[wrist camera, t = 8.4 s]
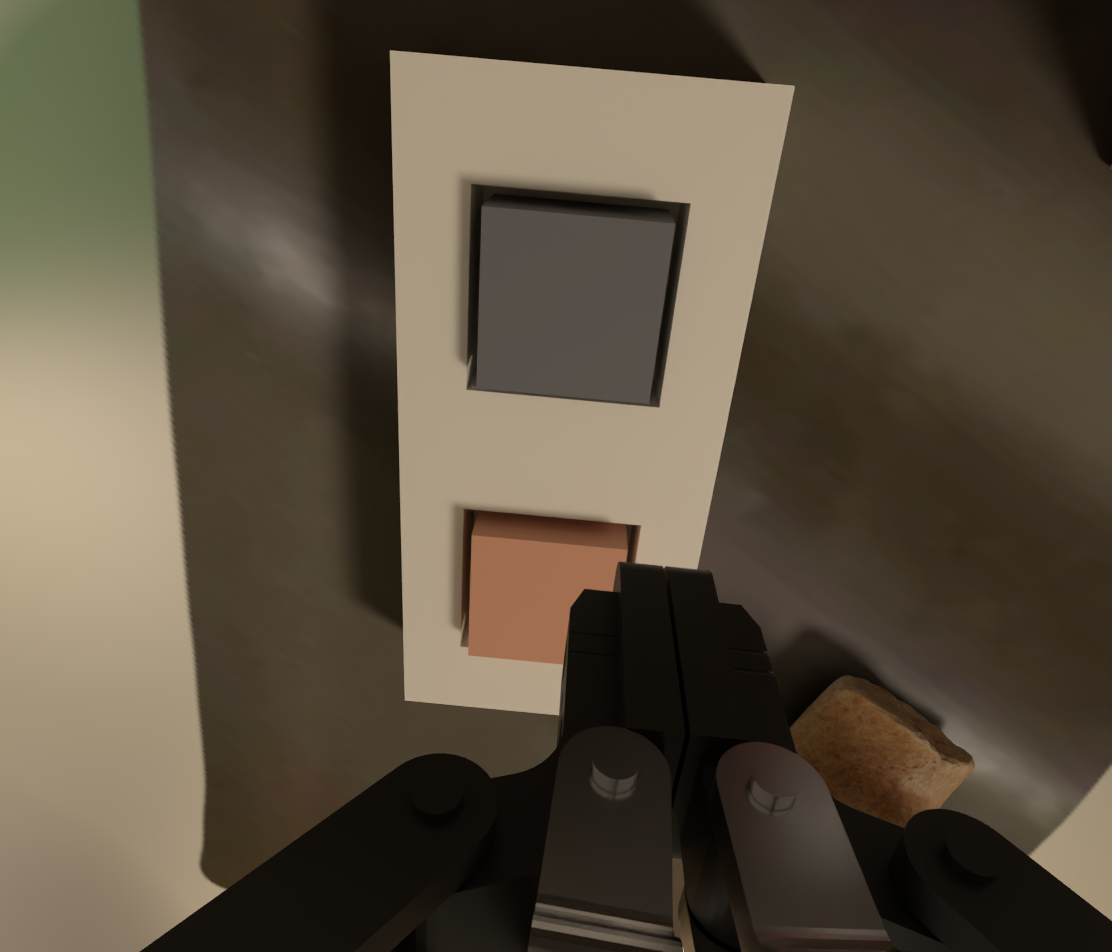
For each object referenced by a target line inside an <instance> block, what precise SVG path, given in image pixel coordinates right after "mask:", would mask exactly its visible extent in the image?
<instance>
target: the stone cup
mask: <svg viewBox="0 0 1112 952" xmlns="http://www.w3.org/2000/svg"><path fill="white" fill-rule="evenodd" d="M790 731H791V735H792V738H793V742H794V745H795V749H796V752H797V755H798V756H800V757H801V758H803V759H804V760H806V761H807V762H808V763H809V764H810V765H811V766H812V767H813V768H814V769H815V770H816V771H817V772H818V773H819V774H820V776H821V777H822V779H823V780H824V782H825V784H826V786H827V788H828V790H829V792H830V795H831V796H832V797H834V798H835V799H837V800H838V801H840V802H842V803H844V804H845V805H847V806H849V807H851V808H854V809H856V810H858V811H861V812H863V813H866V814H869V815H871V816H874V817H876V818H879V819H882V820H884V821H887V822H890V823H892V824H895V825H898V826H900V827H903V828H905V827H906V825H907V823H908V821H909V820H910V819H911V818H912V817H913V816H914V815H915V814H917V813H919V812H921V811H924V810H928V809H939V808H940V807H941V805H942V804H943V803H944V801H945V800H946V799H947V798H948V797H949V796H950V794H951V793H952V792H953V791H954V790H955V789H956V788H957V787H958V786H959V785H960V784H961V783H962V782H963V781H964V780H965V779H966V778H967V777H968V776H969V775H970V774H971V773H972V771H973V770H974V769H975V763H974V760H973V758H972V756H971V755H970V754H968V753H967V752H966V751H965V750H964V749H962V748H960V747H958V746H956V745H955V744H953V743H952V742H951V741H950V740H949V739H948V738H947V737H946V736H945V735H944V733H943V732H942V731H941V730H940V729H939V728H938V726H937V725H933V724H930V723H929V722H928V721H927V720H926V719H925V718H924V717H923V716H922V715H921V714H919V713H917V712H916V711H915V710H914V709H913V708H912V707H911V706H909V705H908V704H906V703H905V702H902V701H900V700H897V699H896V698H895V696H894V695H893V694H891V693H890V692H888V691H887V690H885V689H884V688H882V687H881V686H878V685H875V684H872V683H870V682H869V681H868V680H867V679H862V678H857V677H854V676H850V675H845V676H841V677H840V678H838V679H837V680H835V681H834V682H833V683H832V684H831V685H830V686H829V687H828V688H827V689H826V690H825V691H824V692H823V693H822V694H821V695H820V696H819V697H818V698H817V699H816V700H815V701H814V702H813V703H812V704H811V705H810V706H809V707H808V708H807V709H806V710H805V711H804V712H803V713H802V715H801V716H800V717H799V718H798V719H797V720H796V721H795V722H794V723H793V725H792V726H791V727H790Z"/></svg>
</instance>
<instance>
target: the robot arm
mask: <svg viewBox="0 0 1112 952" xmlns="http://www.w3.org/2000/svg"><path fill="white" fill-rule="evenodd" d="M558 724H559V725H558V738H557V748H556V749H555V751H554V752H553V753H552V754H551V755H550V756H549V757H548V758H547V759H546V760H545V761H543V762H542V763H540V764H539V765H537V766H535V767H534V768H531V769H529V770H526V771H524V772H520V773H516V774H512V775H506V776H501V777H495V778H490V777H489V775H488V774H487V773H486V772H485V771H484V770H483V769H482V768H481V767H480V766H478V765H477V764H476V763H474V762H472V761H470V760H468V759H466V758H464V757H460V756H457V755H452V754H437V753H436V754H428V755H423V756H420V757H416V758H414V759H411V760H409V761H407V762H405V763H403V764H402V765H400V766H399V767H397V768H396V769H394V770H393V771H391V772H390V773H389V774H387V775H386V776H384V777H383V778H382V779H380V780H379V781H378V782H376V783H375V784H373V785H372V786H371V787H369V788H368V789H366V790H365V791H364V792H362V793H361V794H359V795H358V796H357V797H355V798H354V799H352V800H351V801H350V802H348V803H347V804H345V805H344V806H343V807H341V808H340V809H338V810H337V811H336V812H334V813H333V814H331V815H330V816H329V817H327V818H326V819H324V820H323V821H322V822H320V823H319V824H317V825H316V826H315V827H313V828H312V829H310V830H309V831H308V832H306V833H305V834H303V835H302V836H301V837H299V838H298V839H296V840H295V841H294V842H292V843H291V844H290V845H288V846H287V847H285V848H284V849H283V850H281V851H280V852H278V853H277V854H276V855H274V856H273V857H271V858H270V859H269V860H267V861H266V862H264V863H263V864H262V865H260V866H259V867H257V868H256V869H255V870H253V871H252V872H250V873H249V874H248V875H246V876H245V877H243V878H242V879H241V880H239V881H238V882H236V883H235V884H234V885H232V886H231V887H229V888H228V889H227V890H225V891H224V892H222V893H221V894H220V895H218V896H217V897H216V898H214V899H213V900H211V901H210V902H209V903H207V904H206V905H204V906H203V907H201V908H200V909H199V910H197V911H196V912H195V913H193V914H192V915H190V916H189V917H188V918H186V919H185V920H183V921H182V922H181V923H179V924H178V925H176V926H175V927H174V928H172V929H171V930H169V931H168V932H167V933H165V934H164V935H162V936H161V937H160V938H158V939H157V940H155V941H154V942H153V943H151V944H150V945H149V946H147V947H146V948H144V949H143V950H142V951H140V952H683V948H684V952H1112V921H1111V920H1109V919H1108V918H1107V917H1106V916H1104V915H1103V914H1102V913H1100V912H1099V911H1098V910H1097V909H1095V908H1094V907H1093V906H1092V905H1090V904H1089V903H1088V902H1086V901H1085V900H1084V899H1082V898H1081V897H1080V896H1079V895H1077V894H1076V893H1075V892H1074V891H1072V890H1071V889H1070V888H1068V887H1067V886H1066V885H1064V884H1063V883H1062V882H1061V881H1059V880H1058V879H1057V878H1056V877H1054V876H1053V875H1052V874H1051V873H1049V872H1048V871H1047V870H1045V869H1044V868H1043V867H1042V866H1040V865H1039V864H1038V863H1036V862H1035V861H1034V860H1032V859H1031V858H1030V857H1029V856H1027V855H1026V854H1025V853H1024V852H1022V851H1021V850H1020V849H1018V848H1017V847H1016V846H1015V845H1013V844H1012V843H1011V842H1009V841H1008V840H1007V839H1006V838H1004V837H1003V836H1002V835H1000V834H999V833H998V832H996V831H995V830H994V829H992V828H991V827H989V826H988V825H986V824H984V823H982V822H981V821H979V820H977V819H975V818H973V817H970V816H968V815H966V814H963V813H960V812H956V811H952V810H947V809H928V810H924V811H921V812H919V813H917V814H915V815H914V816H913V817H912V818H911V819H910V820H909V821H908V823H907V825H906V827H905V828H903V827H900V826H898V825H895V824H892V823H890V822H887V821H884V820H882V819H879V818H876V817H874V816H871V815H869V814H866V813H863V812H861V811H858V810H856V809H854V808H851V807H849V806H847V805H845V804H844V803H842V802H840V801H838V800H837V799H835V798H834V797H832V796H831V795H830V792H829V790H828V788H827V786H826V784H825V782H824V780H823V779H822V777H821V776H820V774H819V773H818V772H817V771H816V770H815V769H814V768H813V767H812V766H811V765H810V764H809V763H808V762H807V761H806V760H804V759H803V758H801V757H800V756H798V755H797V752H796V749H795V745H794V742H793V738H792V735H791V731H790V728H789V725H788V721H787V718H786V714H785V711H784V707H783V704H782V700H781V697H780V694H779V690H778V687H777V683H776V680H775V677H773V670H772V666H771V663H770V659H769V657H767V649H766V646H765V642H764V639H763V635H762V632H761V628H760V627H759V625H758V624H757V623H756V622H755V621H754V620H753V618H752V617H751V616H750V615H749V614H748V613H747V611H746V610H745V609H744V608H743V607H742V606H741V605H735V604H726V603H719V602H718V597H717V593H716V588H715V584H714V579H713V575H712V573H711V571H707V570H698V569H688V568H679V567H669V566H665V568H663V566H658V565H649V564H640V563H630V562H621V561H619V562H618V564H617V568H616V573H615V580H614V586H613V592H611V591H602V590H592V589H584V590H583V591H582V593H581V594H580V595H579V597H578V598H577V599H576V601H575V602H574V603H573V605H572V606H571V607H570V615H569V622H568V630H567V638H566V646H565V654H564V662H563V670H562V678H561V693H560V708H559V723H558ZM672 858H679V859H682V862H683V872H684V882H685V884H684V887H683V891H682V895H681V898H680V902H679V908H678V916H679V924H680V930H681V936H682V942H683V948H682V943H681V940H680V938H679V937H675V936H674V931H673V905H672Z"/></svg>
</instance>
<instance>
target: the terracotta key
mask: <svg viewBox="0 0 1112 952" xmlns="http://www.w3.org/2000/svg"><path fill="white" fill-rule="evenodd" d="M627 551H628V546H627V529H626V524H620V523H609V522H599V521H588V520H578V519H567V518H556V517H546V516H535V515H525V514H514V513H503V512H493V511H482V510H479V511H478V515H477V518H476V522H475V525H474V529H473V532H472V542H471V576H470V610H469V644H468V655H469V656H479V657H489V658H500V659H510V660H521V661H531V662H541V663H552V664H562V665H563V662H564V654H565V646H566V638H567V630H568V622H569V615H570V607H571V606H572V605H573V603H574V602H575V601H576V599H577V598H578V597H579V595H580V594H581V593H582V591H583V590H584V589H592V590H602V591H611V592H613V586H614V580H615V573H616V568H617V564H618V562H619V561H621V562H626V558H627Z"/></svg>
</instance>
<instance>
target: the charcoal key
mask: <svg viewBox="0 0 1112 952" xmlns="http://www.w3.org/2000/svg"><path fill="white" fill-rule="evenodd" d="M674 231H675V222H674V220H673V218H672V216H671V214H670V213H669V211H668V209H659V208H648V207H637V206H626V205H615V204H604V203H593V202H582V201H571V200H559V199H548V198H537V197H526V196H515V195H504V194H493V195H492V196H491V197H490V198H489V199H488V200H487V201H486V202H485V203H484V204H483V205H482V213H481V247H480V280H479V314H478V348H477V381H476V388H481V389H492V390H503V391H513V392H524V393H535V394H546V395H557V396H567V397H578V398H589V399H600V400H610V401H621V402H632V403H643V404H649V401H650V394H651V387H652V380H653V373H654V367H655V360H656V353H657V346H658V339H659V333H660V326H661V319H662V312H663V305H664V299H665V292H666V285H667V278H668V271H669V265H670V258H671V251H672V244H673V237H674Z"/></svg>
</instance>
